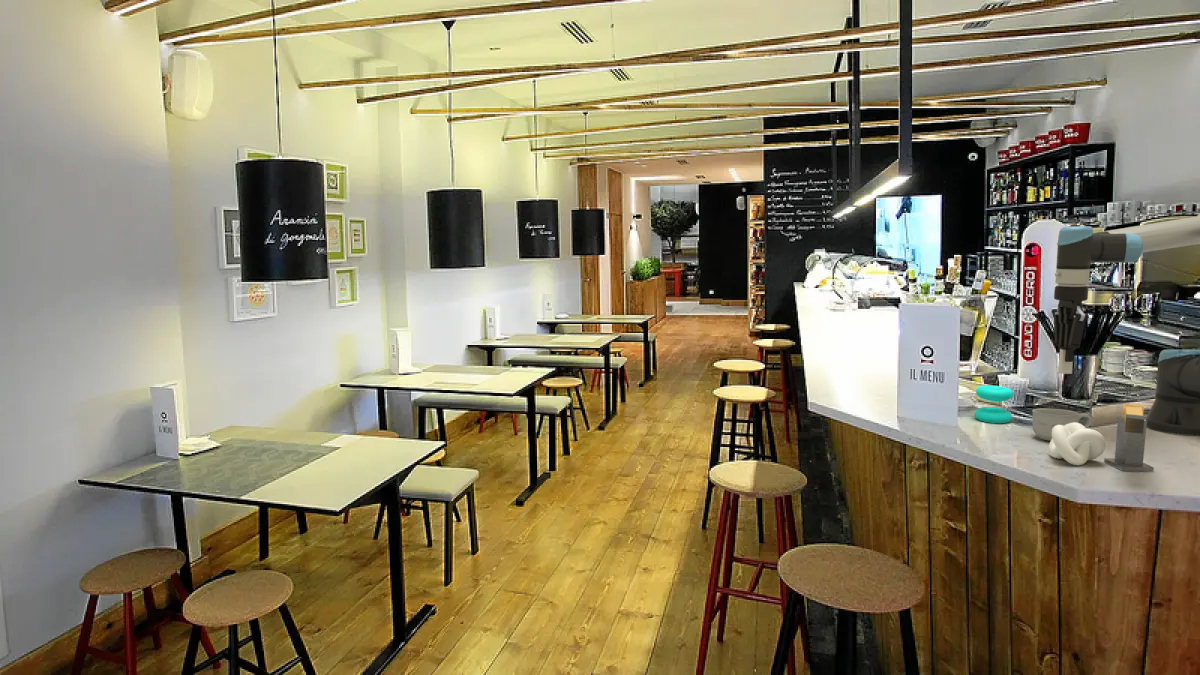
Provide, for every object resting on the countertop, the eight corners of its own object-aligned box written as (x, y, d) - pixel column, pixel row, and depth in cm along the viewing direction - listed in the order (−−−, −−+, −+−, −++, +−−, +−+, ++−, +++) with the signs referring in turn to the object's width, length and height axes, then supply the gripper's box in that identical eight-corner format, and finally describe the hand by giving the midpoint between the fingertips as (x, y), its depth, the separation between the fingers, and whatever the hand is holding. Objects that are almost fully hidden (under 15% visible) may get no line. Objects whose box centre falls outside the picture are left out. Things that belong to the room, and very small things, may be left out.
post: (1134, 462, 178) (1138, 416, 177) (1153, 471, 171) (1157, 423, 170) (1103, 462, 179) (1107, 415, 177) (1122, 471, 172) (1126, 422, 170)
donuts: (970, 384, 225) (1003, 384, 225) (968, 416, 226) (1001, 416, 226) (985, 391, 215) (1020, 391, 215) (983, 424, 216) (1018, 424, 216)
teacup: (1031, 441, 197) (1033, 412, 196) (1029, 432, 207) (1031, 404, 206) (1093, 448, 191) (1095, 418, 190) (1088, 438, 200) (1090, 409, 199)
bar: (1121, 415, 176) (1123, 402, 176) (1142, 417, 174) (1143, 404, 173) (1122, 431, 161) (1124, 417, 161) (1145, 434, 159) (1146, 419, 159)
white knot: (1085, 471, 172) (1088, 434, 170) (1033, 459, 182) (1035, 424, 181) (1109, 463, 178) (1112, 427, 176) (1056, 452, 188) (1059, 418, 186)
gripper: (1043, 284, 200) (1037, 369, 203) (1070, 286, 187) (1063, 377, 190) (1072, 283, 200) (1066, 369, 203) (1101, 286, 187) (1094, 377, 190)
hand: (1065, 373), depth 196 cm, fingers closed
